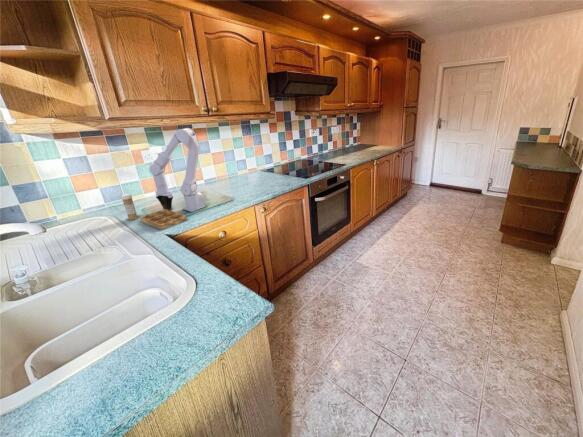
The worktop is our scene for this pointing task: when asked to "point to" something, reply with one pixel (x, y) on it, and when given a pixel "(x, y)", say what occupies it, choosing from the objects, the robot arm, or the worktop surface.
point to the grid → (163, 219)
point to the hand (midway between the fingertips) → (167, 207)
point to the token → (165, 207)
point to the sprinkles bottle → (129, 206)
